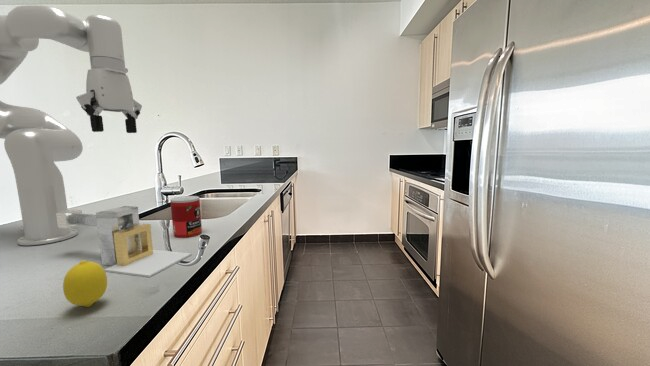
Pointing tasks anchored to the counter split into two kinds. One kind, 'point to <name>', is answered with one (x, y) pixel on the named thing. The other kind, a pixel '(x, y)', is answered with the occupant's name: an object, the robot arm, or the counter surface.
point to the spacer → (121, 244)
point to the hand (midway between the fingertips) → (115, 132)
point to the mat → (150, 263)
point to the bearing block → (109, 226)
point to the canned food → (186, 216)
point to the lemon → (85, 283)
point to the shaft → (82, 219)
